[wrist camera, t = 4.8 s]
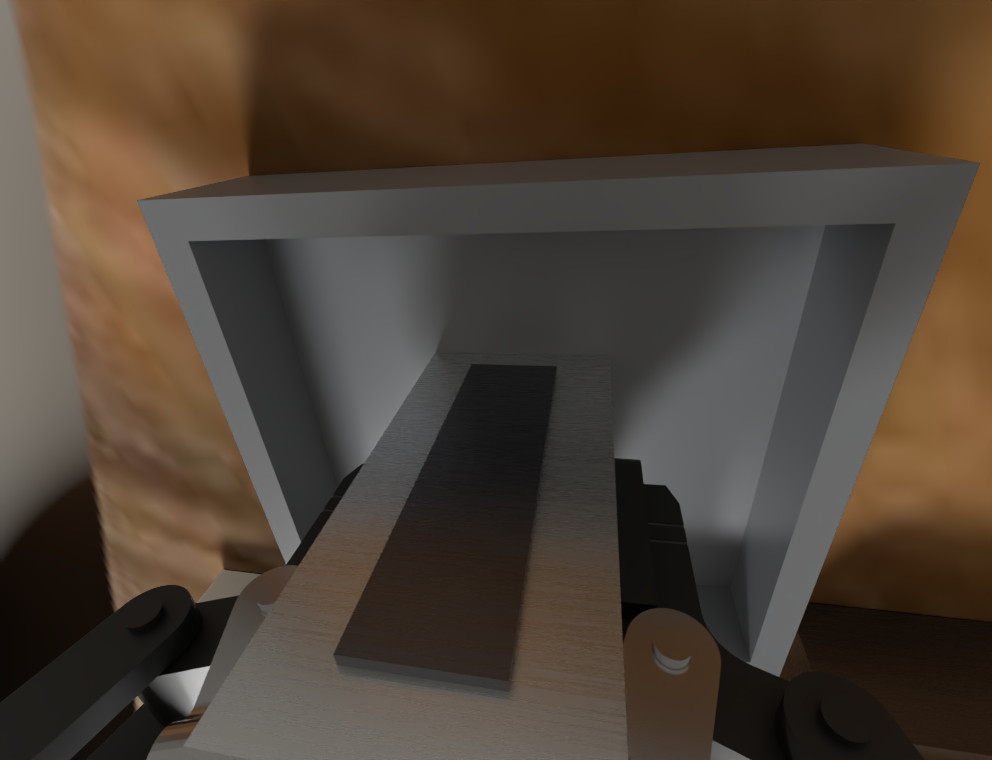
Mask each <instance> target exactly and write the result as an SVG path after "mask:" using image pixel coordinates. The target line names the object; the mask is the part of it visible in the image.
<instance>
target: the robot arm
mask: <svg viewBox="0 0 992 760" xmlns="http://www.w3.org/2000/svg"><path fill="white" fill-rule="evenodd" d="M614 461H615V483H616V505H617V527H618V549H619V571H620V593H621V615H622V637H623V659H624V681H625V703H626V725H627V747H628V760H925V759H924V758H923V757H922V755H921V754H920V753H919V751H918V750H917V749H916V747H915V746H914V745H913V743H912V742H911V741H910V740H909V738H908V737H907V736H906V734H905V733H904V732H903V730H902V729H901V728H900V726H899V725H898V724H897V722H896V721H895V720H894V718H893V717H892V716H891V715H890V713H889V712H888V711H887V710H886V709H885V707H884V706H883V705H882V704H881V703H880V702H879V701H877V700H876V699H875V698H874V697H873V696H872V695H870V694H869V693H868V692H867V691H865V690H864V689H862V688H861V687H859V686H858V685H856V684H855V683H853V682H851V681H849V680H847V679H845V678H842V677H840V676H837V675H834V674H830V673H826V672H817V671H815V672H806V673H802V674H799V675H798V676H796V677H794V678H793V679H792V680H791V681H790V682H789V681H787V680H785V679H782V678H780V677H778V676H775V675H773V674H771V673H768V672H766V671H764V670H761V669H759V668H757V667H754V666H752V665H750V664H748V663H746V662H744V661H742V660H740V659H739V658H737V657H736V656H734V655H733V654H731V653H730V652H729V651H728V650H726V649H725V648H724V647H723V646H722V645H721V644H720V643H719V642H718V641H717V640H716V639H715V637H714V636H713V635H712V634H711V632H710V631H709V629H708V627H707V626H706V623H705V621H704V619H703V616H702V612H701V608H700V603H699V598H698V593H697V588H696V583H695V578H694V573H693V568H692V563H691V558H690V553H689V548H688V546H687V538H686V533H685V528H684V523H683V518H682V513H681V508H680V504H679V502H678V501H677V500H676V498H675V497H674V496H673V494H672V493H671V492H670V490H669V489H668V488H667V486H666V485H653V484H644V483H643V474H642V466H641V461H640V460H636V459H620V458H614ZM363 465H364V464H361V465H360V466H358V467H357V468H356V469H355V470H353V471H352V472H351V473H350V474H348V475H347V476H346V477H344V479H343V480H342V482H341V483H340V485H339V486H338V488H337V489H336V491H335V492H334V494H333V498H330V500H329V501H328V503H327V504H326V506H325V507H324V511H323V512H321V513H320V515H319V516H318V518H317V519H316V521H315V522H314V524H313V525H312V527H311V528H310V530H309V531H308V533H307V534H306V536H305V537H304V539H303V540H302V542H301V543H300V545H299V546H298V548H297V549H296V551H295V552H294V554H293V555H292V557H291V558H290V560H289V561H288V563H287V564H286V565H285V566H281V567H277V568H274V569H271V570H269V571H266V572H264V573H263V574H261V575H259V576H258V577H256V578H255V579H254V580H252V581H251V582H250V583H249V584H248V585H247V586H246V587H245V588H244V589H243V590H242V592H241V593H240V595H237V596H233V597H227V598H222V599H216V600H211V601H205V602H200V603H195V602H194V600H193V598H192V597H191V595H190V593H189V592H188V590H186V589H185V588H184V587H181V586H177V585H166V586H161V587H157V588H154V589H151V590H148V591H146V592H144V593H142V594H140V595H138V596H137V597H135V598H133V599H132V600H130V601H129V602H128V603H126V604H125V605H124V606H122V607H121V608H120V609H118V610H117V611H116V612H115V613H113V614H112V615H111V616H110V617H108V618H107V619H106V620H105V621H103V622H102V623H101V624H100V625H98V626H97V627H96V628H94V629H93V630H92V631H91V632H90V633H88V634H87V635H86V636H84V637H83V638H82V639H81V640H79V641H78V642H77V643H75V644H74V645H73V646H72V647H70V648H69V649H68V650H67V651H66V652H64V653H63V654H61V655H60V656H59V657H58V658H56V659H55V660H54V661H53V662H51V663H50V664H49V665H48V666H46V667H45V668H44V669H43V670H41V671H40V672H39V673H37V674H36V675H35V676H34V677H32V678H31V679H30V680H29V681H27V682H26V683H25V684H24V685H22V686H21V687H20V688H18V689H17V690H16V691H15V692H14V693H12V694H11V695H10V696H8V697H7V698H6V699H4V700H3V701H2V702H1V703H0V760H70V759H71V758H72V757H73V756H74V755H75V754H76V753H77V752H78V751H79V750H80V749H81V748H82V747H83V746H85V745H86V744H87V742H89V741H90V740H91V739H92V738H93V737H94V736H95V735H96V734H97V733H98V732H99V731H100V730H101V729H102V728H103V727H105V725H107V724H108V723H109V722H110V721H111V720H112V719H113V718H114V717H115V716H116V715H117V714H118V713H119V712H120V711H122V709H124V708H125V707H126V706H127V705H128V704H129V703H130V702H131V701H132V700H133V699H134V698H135V697H136V696H138V697H139V698H140V699H141V701H142V702H143V703H144V704H143V705H142V706H141V707H140V708H139V709H138V710H137V711H136V712H135V713H134V714H133V715H132V716H131V717H130V718H129V719H128V720H126V721H125V722H124V723H123V724H122V725H121V726H120V727H119V728H118V729H117V730H116V731H115V732H114V733H113V734H112V735H111V736H110V737H109V738H108V739H107V740H106V741H105V742H104V743H103V744H102V745H101V746H100V747H99V748H98V749H97V750H96V751H95V752H93V753H92V754H91V755H90V756H89V757H88V758H87V759H86V760H193V758H192V757H191V756H190V754H189V753H188V752H187V751H186V749H185V748H184V747H183V746H184V744H185V742H186V741H187V739H188V738H189V736H190V735H191V733H192V731H193V730H194V728H195V727H196V725H197V724H198V722H199V721H200V719H201V717H202V716H203V714H204V713H205V711H206V710H207V708H208V706H209V705H210V703H211V702H212V700H213V699H214V697H215V696H216V694H217V692H218V691H219V689H220V688H221V686H222V685H223V683H224V682H225V680H226V678H227V677H228V675H229V674H230V672H231V671H232V669H233V667H234V666H235V664H236V663H237V661H238V660H239V658H240V657H241V655H242V653H243V652H244V650H245V649H246V647H247V646H248V644H249V642H250V641H251V639H252V638H253V636H254V635H255V633H256V632H257V630H258V628H259V627H260V625H261V624H262V622H263V621H264V619H265V618H266V616H267V614H268V613H269V611H270V610H271V608H272V607H273V605H274V603H275V602H276V600H277V599H278V597H279V596H280V594H281V593H282V591H283V589H284V588H285V586H286V585H287V583H288V582H289V580H290V579H291V577H292V575H293V574H294V572H295V571H296V569H297V568H298V566H299V564H300V563H301V561H302V560H303V558H304V557H305V555H306V554H307V552H308V550H309V549H310V547H311V546H312V544H313V543H314V541H315V539H316V538H317V536H318V535H319V533H320V532H321V530H322V529H323V527H324V525H325V524H326V522H327V521H328V519H329V518H330V516H331V515H332V513H333V511H334V510H335V508H336V507H337V505H338V504H339V502H340V500H341V499H342V497H343V496H344V494H345V493H346V491H347V490H348V488H349V486H350V485H351V483H352V482H353V480H354V479H355V477H356V476H357V474H358V472H359V471H360V469H361V468H362V466H363Z"/></svg>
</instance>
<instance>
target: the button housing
mask: <svg viewBox="0 0 992 760" xmlns="http://www.w3.org/2000/svg"><path fill="white" fill-rule="evenodd" d="M815 671H817V672H826V673H830V674H834V675H837V676H840V677H842V678H845V679H847V680H849V681H851V682H853V683H855V684H856V685H858V686H859V687H861V688H862V689H864V690H865V691H867V692H868V693H869V694H870V695H872V696H873V697H874V698H875V699H876V700H877V701H879V702H880V703H881V704H882V705H883V706H884V707H885V709H886V710H887V711H888V712H889V713H890V715H891V716H892V717H893V718H894V720H895V721H896V722H897V724H898V725H899V726H900V728H901V729H902V730H903V732H904V733H905V734H906V736H907V737H908V738H909V740H910V741H911V742H912V743H913V745H914V746H915V747H916V749H917V750H918V751H919V753H920V754H921V755H922V757H923V758H924V759H925V760H992V623H990V622H981V621H972V620H963V619H953V618H944V617H935V616H926V615H916V614H907V613H898V612H889V611H879V610H870V609H861V608H851V607H842V606H833V605H824V604H814V603H808V604H807V607H806V609H805V612H804V615H803V617H802V620H801V622H800V625H799V627H798V630H797V633H796V635H795V638H794V640H793V643H792V645H791V648H790V650H789V653H788V656H787V658H786V661H785V663H784V666H783V668H782V671H781V673H780V676H779V677H780V678H782V679H785V680H787V681H789V682H790V681H791V680H792V679H793V678H794V677H796V676H798V675H799V674H802V673H806V672H815Z"/></svg>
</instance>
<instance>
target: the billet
mask: <svg viewBox="0 0 992 760" xmlns="http://www.w3.org/2000/svg"><path fill="white" fill-rule="evenodd" d="M183 747H184V748H185V749H186V751H187V752H188V753H189V754H190V756H191V757H192V758H193V760H628V747H627V725H626V703H625V681H624V659H623V637H622V615H621V593H620V571H619V549H618V527H617V505H616V483H615V461H614V439H613V417H612V395H611V373H610V355H565V354H519V353H474V352H435V354H434V355H433V357H432V358H431V360H430V362H429V363H428V365H427V366H426V368H425V369H424V371H423V373H422V374H421V376H420V377H419V379H418V380H417V382H416V383H415V385H414V387H413V388H412V390H411V391H410V393H409V394H408V396H407V397H406V399H405V401H404V402H403V404H402V405H401V407H400V408H399V410H398V412H397V413H396V415H395V416H394V418H393V419H392V421H391V422H390V424H389V426H388V427H387V429H386V430H385V432H384V433H383V435H382V436H381V438H380V440H379V441H378V443H377V444H376V446H375V447H374V449H373V451H372V452H371V454H370V455H369V457H368V458H367V460H366V461H365V463H364V465H363V466H362V468H361V469H360V471H359V472H358V474H357V476H356V477H355V479H354V480H353V482H352V483H351V485H350V486H349V488H348V490H347V491H346V493H345V494H344V496H343V497H342V499H341V500H340V502H339V504H338V505H337V507H336V508H335V510H334V511H333V513H332V515H331V516H330V518H329V519H328V521H327V522H326V524H325V525H324V527H323V529H322V530H321V532H320V533H319V535H318V536H317V538H316V539H315V541H314V543H313V544H312V546H311V547H310V549H309V550H308V552H307V554H306V555H305V557H304V558H303V560H302V561H301V563H300V564H299V566H298V568H297V569H296V571H295V572H294V574H293V575H292V577H291V579H290V580H289V582H288V583H287V585H286V586H285V588H284V589H283V591H282V593H281V594H280V596H279V597H278V599H277V600H276V602H275V603H274V605H273V607H272V608H271V610H270V611H269V613H268V614H267V616H266V618H265V619H264V621H263V622H262V624H261V625H260V627H259V628H258V630H257V632H256V633H255V635H254V636H253V638H252V639H251V641H250V642H249V644H248V646H247V647H246V649H245V650H244V652H243V653H242V655H241V657H240V658H239V660H238V661H237V663H236V664H235V666H234V667H233V669H232V671H231V672H230V674H229V675H228V677H227V678H226V680H225V682H224V683H223V685H222V686H221V688H220V689H219V691H218V692H217V694H216V696H215V697H214V699H213V700H212V702H211V703H210V705H209V706H208V708H207V710H206V711H205V713H204V714H203V716H202V717H201V719H200V721H199V722H198V724H197V725H196V727H195V728H194V730H193V731H192V733H191V735H190V736H189V738H188V739H187V741H186V742H185V744H184V746H183Z"/></svg>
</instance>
